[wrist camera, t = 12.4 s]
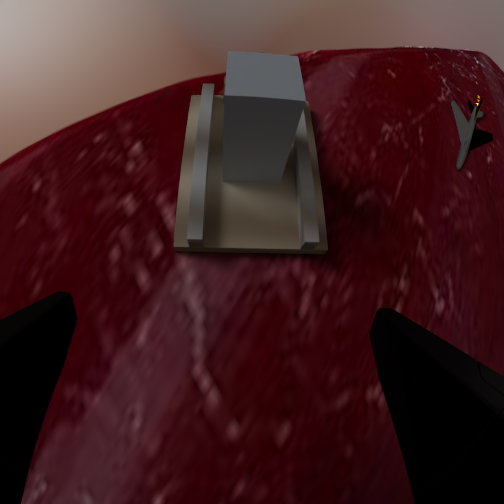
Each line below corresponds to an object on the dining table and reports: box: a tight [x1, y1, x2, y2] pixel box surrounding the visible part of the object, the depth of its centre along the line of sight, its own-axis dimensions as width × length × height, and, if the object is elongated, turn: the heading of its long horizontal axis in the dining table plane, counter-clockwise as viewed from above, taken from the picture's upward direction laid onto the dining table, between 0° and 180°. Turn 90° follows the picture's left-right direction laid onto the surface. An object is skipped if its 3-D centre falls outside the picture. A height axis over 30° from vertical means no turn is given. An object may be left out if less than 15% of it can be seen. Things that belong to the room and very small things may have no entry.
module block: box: [222, 51, 306, 184], centre depth 21 cm, size 5×4×9 cm
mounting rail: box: [174, 77, 328, 254], centre depth 24 cm, size 15×11×4 cm
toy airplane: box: [451, 95, 493, 170], centre depth 31 cm, size 8×21×2 cm, turn 142°
